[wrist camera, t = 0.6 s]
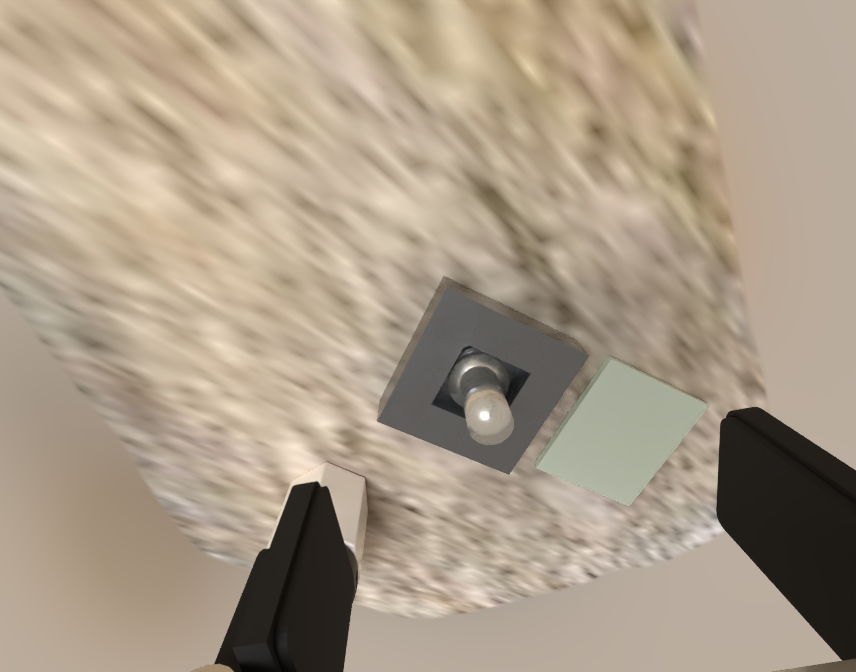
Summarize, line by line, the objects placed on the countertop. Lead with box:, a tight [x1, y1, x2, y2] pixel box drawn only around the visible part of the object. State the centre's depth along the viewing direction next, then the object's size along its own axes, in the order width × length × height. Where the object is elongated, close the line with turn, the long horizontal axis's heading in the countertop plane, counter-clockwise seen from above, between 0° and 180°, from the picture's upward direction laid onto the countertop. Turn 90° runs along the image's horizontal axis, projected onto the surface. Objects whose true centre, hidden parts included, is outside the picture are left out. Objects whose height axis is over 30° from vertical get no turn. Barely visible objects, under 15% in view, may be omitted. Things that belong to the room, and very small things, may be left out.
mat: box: [534, 355, 709, 506], centre depth 48 cm, size 14×12×1 cm
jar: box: [266, 462, 368, 603], centre depth 44 cm, size 9×8×12 cm
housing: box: [377, 276, 589, 474], centre depth 43 cm, size 14×14×4 cm
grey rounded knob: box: [447, 348, 514, 445], centre depth 40 cm, size 6×6×9 cm
